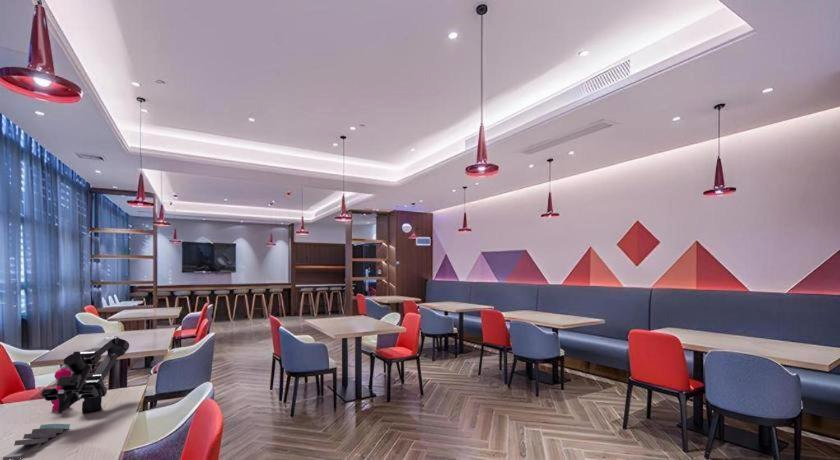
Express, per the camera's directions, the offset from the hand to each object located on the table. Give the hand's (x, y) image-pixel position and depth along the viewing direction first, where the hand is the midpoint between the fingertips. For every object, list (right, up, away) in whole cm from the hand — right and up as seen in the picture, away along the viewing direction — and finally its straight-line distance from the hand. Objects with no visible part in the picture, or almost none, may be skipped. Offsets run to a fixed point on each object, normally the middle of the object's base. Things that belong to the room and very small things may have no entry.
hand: (59, 413), depth 163 cm
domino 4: (0, -6, -2) cm, 7 cm away
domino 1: (+2, -6, -11) cm, 12 cm away
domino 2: (+3, -6, -14) cm, 16 cm away
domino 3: (+1, -6, -6) cm, 9 cm away
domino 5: (0, -7, +2) cm, 7 cm away
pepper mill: (-21, -9, +24) cm, 34 cm away
